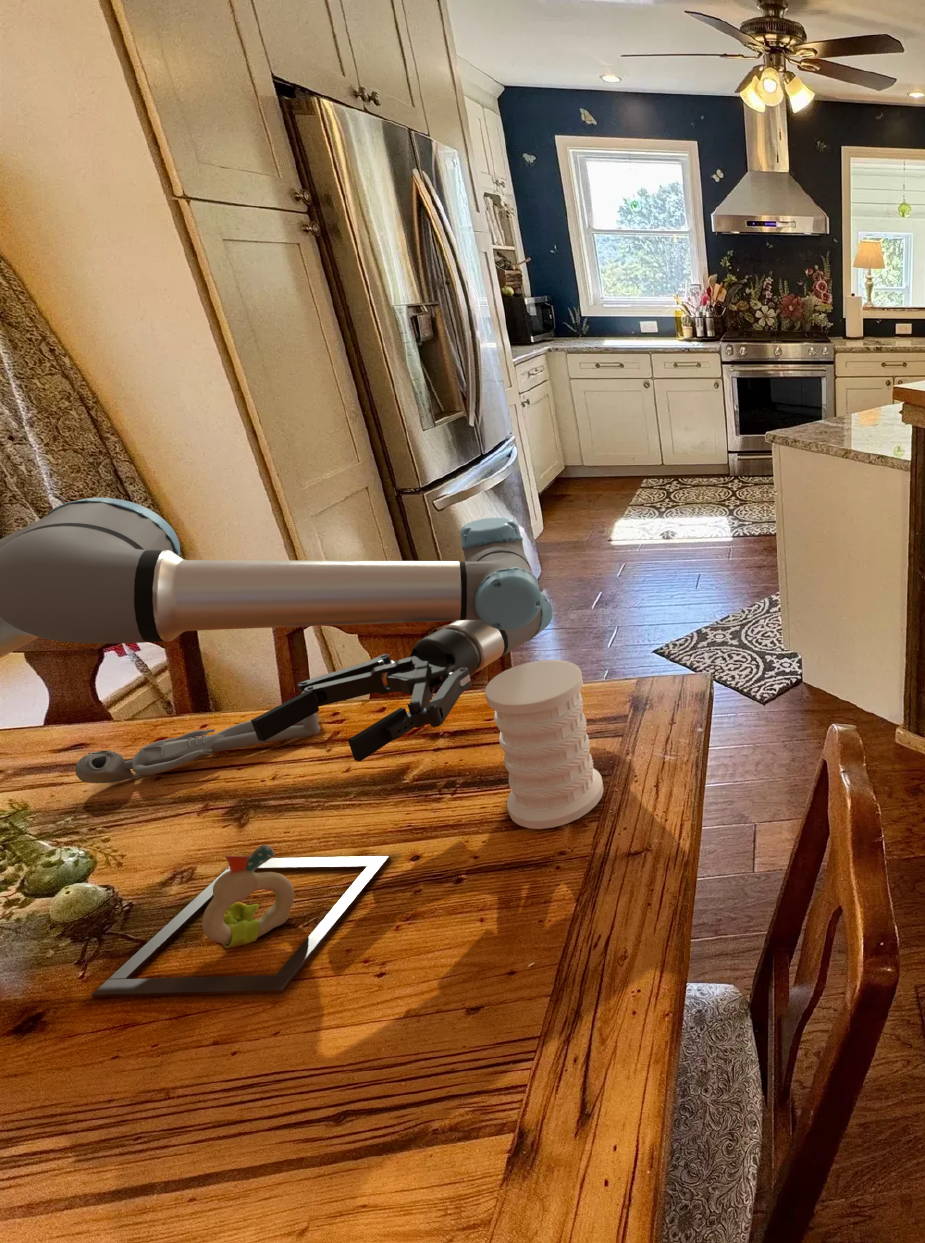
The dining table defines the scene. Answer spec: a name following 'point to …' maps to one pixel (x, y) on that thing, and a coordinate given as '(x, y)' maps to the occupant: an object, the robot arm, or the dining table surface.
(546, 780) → the decorative container
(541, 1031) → the dining table surface
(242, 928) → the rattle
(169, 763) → the alien figure
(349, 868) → the spot frame
